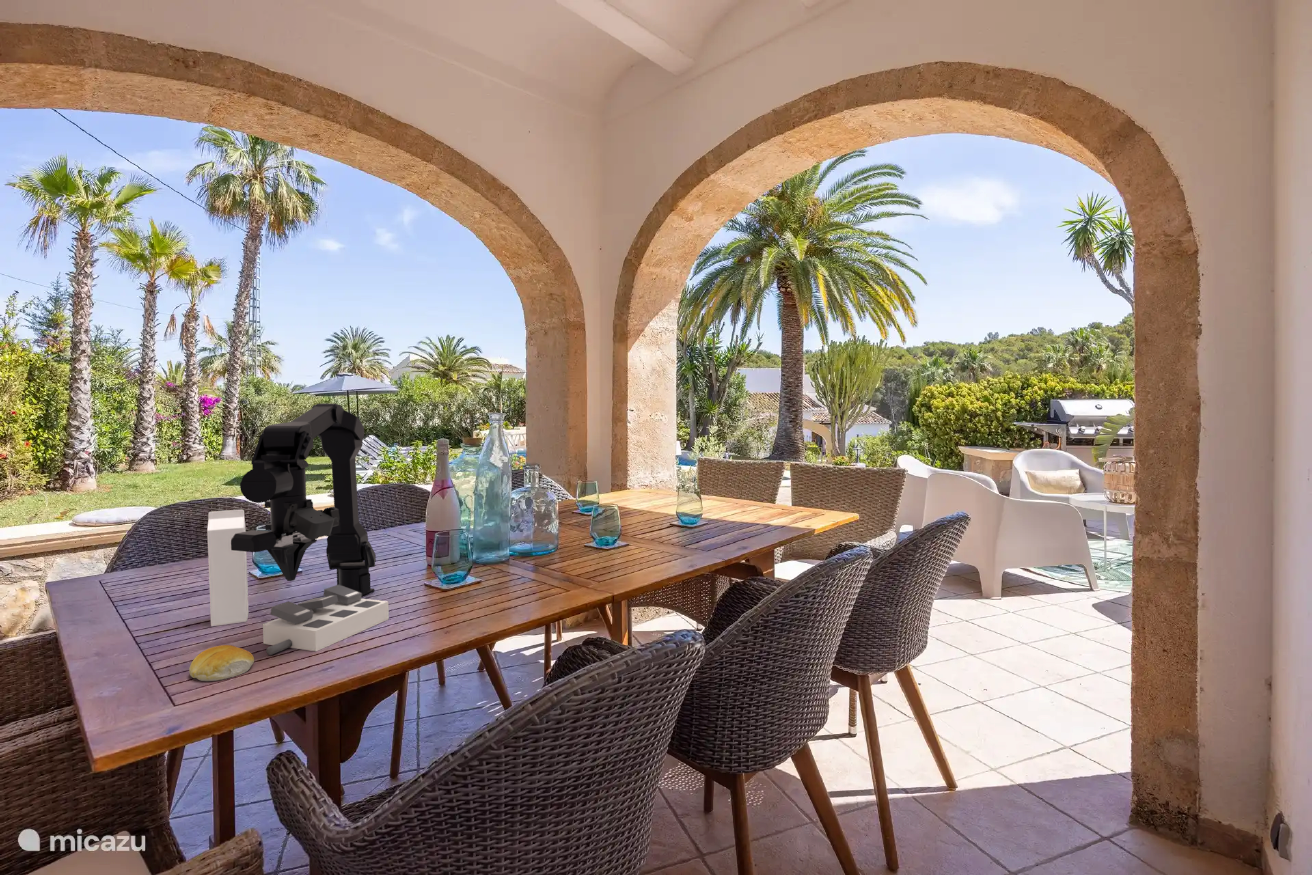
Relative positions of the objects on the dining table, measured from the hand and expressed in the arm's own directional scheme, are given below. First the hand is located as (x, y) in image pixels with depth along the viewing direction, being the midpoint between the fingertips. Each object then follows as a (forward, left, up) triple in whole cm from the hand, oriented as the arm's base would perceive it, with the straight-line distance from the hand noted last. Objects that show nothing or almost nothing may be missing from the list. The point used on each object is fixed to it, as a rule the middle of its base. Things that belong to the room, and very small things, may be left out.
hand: (290, 580), depth 119 cm
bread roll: (+1, -14, -12) cm, 18 cm away
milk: (-22, +5, -11) cm, 25 cm away
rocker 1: (0, 0, -6) cm, 6 cm away
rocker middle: (0, +6, -6) cm, 9 cm away
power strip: (+3, +4, -11) cm, 12 cm away
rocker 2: (0, +12, -6) cm, 14 cm away
